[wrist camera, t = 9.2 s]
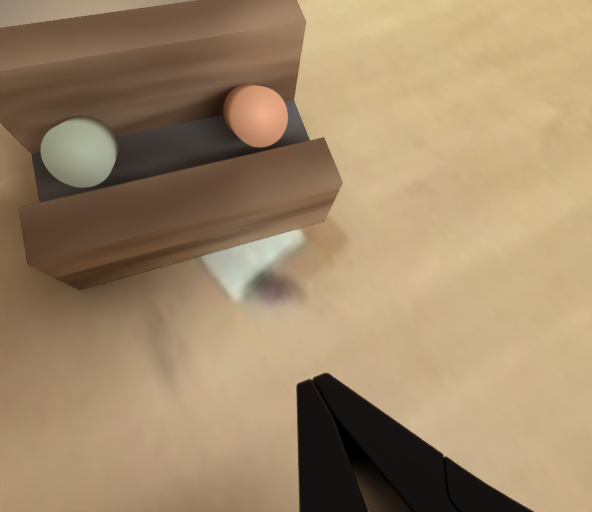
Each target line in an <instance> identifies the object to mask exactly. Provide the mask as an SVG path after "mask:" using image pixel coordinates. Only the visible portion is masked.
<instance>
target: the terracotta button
mask: <svg viewBox="0 0 592 512" xmlns="http://www.w3.org/2000/svg"><path fill="white" fill-rule="evenodd" d="M223 114H224V119H225V122H226V124H227V126H228V127H229V128H230V130H231V131H232V132H233V133H234V134H236V135H237V136H238V137H239V138H240V139H241V140H242V141H243V142H245V143H246V144H248V145H250V146H253V147H267V146H270V145H272V144H274V143H275V142H277V141H278V140H279V139H280V138H281V136H282V135H283V133H284V132H285V129H286V127H287V122H288V112H287V108H286V105H285V103H284V101H283V99H282V98H281V97H280V95H279V94H278V93H276V92H275V91H274V90H272V89H270V88H267V87H262V86H257V85H252V84H243V85H239V86H237V87H235V88H234V89H233V90H231V92H230V93H229V94H228V95H227V97H226V99H225V102H224V106H223Z"/></svg>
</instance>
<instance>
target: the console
mask: <svg viewBox="0 0 592 512" xmlns="http://www.w3.org/2000/svg"><path fill="white" fill-rule="evenodd" d="M305 25H306V20H305V18H304V15H303V13H302V11H301V9H300V6H299V4H298V2H297V0H196V1H189V2H182V3H175V4H168V5H161V6H154V7H146V8H139V9H132V10H125V11H118V12H111V13H104V14H97V15H89V16H82V17H75V18H68V19H61V20H54V21H46V22H39V23H32V24H26V25H19V26H11V27H4V28H0V123H1V124H2V125H3V126H4V127H5V128H6V129H7V130H8V131H9V132H10V133H11V134H12V135H13V136H14V137H15V138H16V139H17V140H18V141H19V142H20V143H21V144H22V145H23V146H24V147H25V148H26V149H27V150H28V151H29V152H30V153H31V154H32V159H33V165H34V171H35V177H36V183H37V188H38V194H39V200H40V203H37V204H33V205H29V206H24V207H20V208H19V213H20V219H21V226H22V232H23V238H24V245H25V251H26V258H27V264H28V265H29V266H31V267H33V268H35V269H38V270H40V271H42V272H44V273H46V274H48V275H50V276H52V277H54V278H56V279H58V280H60V281H62V282H64V283H66V284H68V285H70V286H72V287H74V288H76V289H79V290H81V289H85V288H88V287H92V286H95V285H99V284H103V283H106V282H110V281H113V280H117V279H120V278H124V277H128V276H131V275H135V274H138V273H142V272H145V271H149V270H153V269H156V268H160V267H163V266H167V265H170V264H174V263H178V262H181V261H185V260H188V259H192V258H195V257H199V256H203V255H206V254H210V253H213V252H217V251H220V250H224V249H228V248H231V247H235V246H238V245H242V244H245V243H249V242H253V241H256V240H260V239H263V238H267V237H270V236H274V235H278V234H281V233H285V232H288V231H292V230H296V229H299V228H303V227H306V226H310V225H313V224H317V223H321V222H324V221H325V219H326V217H327V215H328V212H329V210H330V208H331V206H332V204H333V202H334V200H335V198H336V196H337V194H338V192H339V189H340V187H341V185H342V183H343V182H342V180H341V177H340V175H339V172H338V170H337V167H336V165H335V163H334V160H333V158H332V155H331V153H330V150H329V148H328V146H327V143H326V141H325V138H324V137H323V138H319V139H315V140H309V137H308V135H307V132H306V130H305V127H304V125H303V122H302V120H301V117H300V115H299V112H298V109H297V107H296V104H295V102H294V96H295V90H296V83H297V77H298V70H299V64H300V57H301V51H302V45H303V38H304V32H305ZM243 84H252V85H257V86H262V87H267V88H270V89H272V90H274V91H275V92H276V93H278V94H279V95H280V97H281V98H282V99H283V101H284V103H285V105H286V108H287V112H288V122H287V127H286V129H285V132H284V133H283V135H282V136H281V138H280V139H279V140H278V141H277V142H275V143H274V144H272V145H270V146H267V147H253V146H250V145H248V144H246V143H245V142H243V141H242V140H241V139H240V138H239V137H238V136H237V135H236V134H234V133H233V132H232V131H231V130H230V128H229V127H228V126H227V124H226V122H225V119H224V114H223V106H224V102H225V99H226V97H227V95H228V94H229V93H230V92H231V90H233V89H234V88H235V87H237V86H239V85H243ZM75 116H90V117H93V118H96V119H98V120H100V121H102V122H104V123H105V124H106V125H107V126H109V127H110V129H111V130H112V131H113V132H114V134H115V136H116V138H117V140H118V144H119V154H118V157H117V160H116V162H115V164H114V166H113V168H112V170H111V172H110V174H109V176H108V177H107V178H106V179H105V180H104V181H103V182H101V183H100V184H98V185H95V186H92V187H84V188H82V187H74V186H70V185H67V184H65V183H63V182H61V181H59V180H58V179H56V178H55V177H54V176H53V175H52V174H51V173H50V172H49V171H48V169H47V168H46V166H45V165H44V163H43V160H42V157H41V143H42V140H43V138H44V136H45V135H46V134H47V132H48V131H49V130H51V129H52V128H54V127H55V126H57V125H59V124H61V123H62V122H64V121H66V120H68V119H69V118H72V117H75Z"/></svg>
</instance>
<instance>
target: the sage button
mask: <svg viewBox="0 0 592 512" xmlns="http://www.w3.org/2000/svg"><path fill="white" fill-rule="evenodd" d="M118 154H119V144H118V140H117V138H116V136H115V134H114V132H113V131H112V130H111V129H110V127H109V126H107V125H106V124H105V123H104V122H102V121H100V120H98V119H96V118H93V117H90V116H75V117H72V118H69V119H68V120H66V121H64V122H62V123H61V124H59V125H57V126H55V127H54V128H52V129H51V130H49V131H48V132H47V134H46V135H45V136H44V138H43V140H42V143H41V157H42V160H43V163H44V165H45V166H46V168H47V169H48V171H49V172H50V173H51V174H52V175H53V176H54V177H55V178H56V179H58V180H59V181H61V182H63V183H65V184H67V185H70V186H74V187H82V188H84V187H92V186H95V185H98V184H100V183H101V182H103V181H104V180H105V179H106V178H107V177H108V176H109V174H110V172H111V170H112V168H113V166H114V164H115V162H116V160H117V157H118Z"/></svg>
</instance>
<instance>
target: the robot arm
mask: <svg viewBox="0 0 592 512" xmlns="http://www.w3.org/2000/svg"><path fill="white" fill-rule="evenodd" d="M297 430H298V471H299V512H368V511H369V512H534V511H532V510H530V509H529V508H527V507H525V506H523V505H522V504H520V503H518V502H516V501H515V500H513V499H511V498H510V497H508V496H506V495H505V494H503V493H501V492H500V491H498V490H496V489H495V488H493V487H491V486H490V485H488V484H486V483H485V482H483V481H482V480H480V479H479V478H477V477H476V476H474V475H473V474H471V473H470V472H468V471H467V470H465V469H464V468H462V467H461V466H459V465H458V464H457V463H455V462H454V461H452V460H451V459H450V458H448V457H446V456H445V457H444V455H443V454H442V453H441V452H439V451H438V450H437V449H435V448H434V447H432V446H431V445H429V444H428V443H427V442H425V441H424V440H422V439H421V438H420V437H418V436H417V435H415V434H414V433H412V432H411V431H410V430H408V429H407V428H405V427H404V426H402V425H401V424H400V423H398V422H397V421H395V420H394V419H393V418H391V417H390V416H388V415H387V414H385V413H384V412H383V411H381V410H380V409H378V408H377V407H376V406H374V405H373V404H371V403H370V402H368V401H367V400H366V399H364V398H363V397H361V396H360V395H359V394H357V393H356V392H354V391H353V390H351V389H350V388H349V387H347V386H346V385H344V384H343V383H342V382H340V381H339V380H337V379H336V378H334V377H333V376H332V375H330V374H329V373H323V374H321V375H318V376H316V377H314V378H313V380H311V379H308V380H305V381H303V382H300V383H298V384H297Z"/></svg>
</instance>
